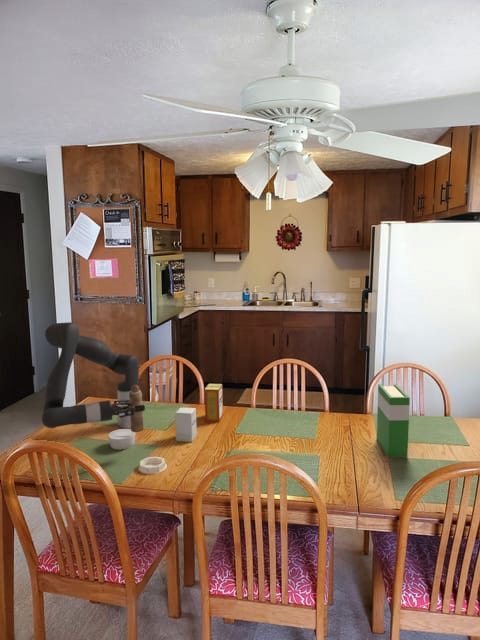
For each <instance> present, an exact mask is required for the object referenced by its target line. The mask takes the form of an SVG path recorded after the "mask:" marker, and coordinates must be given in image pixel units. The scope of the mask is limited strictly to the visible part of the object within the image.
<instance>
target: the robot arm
mask: <svg viewBox="0 0 480 640" xmlns="http://www.w3.org/2000/svg"><path fill="white" fill-rule="evenodd" d="M44 335H45V339H46V341H47V342H48V344H49V345H51V346H52V347H54V348H57V349H58V348H59V349H61V352H60V355H59V357H58V359H57V361H56V363H55V365H54V366H53V368H52V369H51V371H50V372H49V374H48V377H47V381H46V385H45V387H46V388H45V394H44V395H45V396H44V397H45V398H44V400H45V401H44V406H43V410H42V415H41V423H42V424H43V425H44V426H45V427H46V428H47V429H55V428H56V427H57V428H59V427H63V426H69V425H81V424H82V425H83V424H86V423H87V424H90V423H100V422H107V421H112V419H113V416H117V417H116V419H117V426H119V427H120V428H121V429H131V419H130V416H131V415H134V413H135V412H139V411H143V412H144V411H145V410H146V407H145V405H144V404H142V405H139V406H130V399H129V393H130V391H131V388H132V386H133V385H138V386H139V381H140V379H139V378H140V374H139V373H140V367H139V366H140V363H139V359H138V357H137V356H136V355H133V354H124V353H117V352H114V351H112V350H111V348H110V347H109V345H108V344H106V343H105V342H103V341H101V340H99V339H97V338H94V337H90V336H86V335H85V336H84V335H80V329H79V326H78V325H77V324H76V323H74V322H72V321H71V322H56V323H52V324H50V325H49V326H48V327H46V329H45V332H44ZM75 355H77V356H78V357H81V358H83V359H85V360H88V361H89V362H91V363H95V364H97V365H100V366H103V367H105V368H107V369H108V370H110V371H112V372H113V373H115V374H118V375H123V376H124V380H121V381H119V382H118V383H117V385H116V391H117V400H113V403H112V402H111V400H100V401H93V402H89V403H85V404H77V405H71V406H64V401H65V398H66V393H67V392H66V391H67V385H68V379H69V375H70V370H71V367H72V363H73V360H74V357H75Z"/></svg>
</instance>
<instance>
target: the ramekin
mask: <svg viewBox="0 0 480 640" xmlns="http://www.w3.org/2000/svg"><path fill="white" fill-rule="evenodd" d="M136 434H137V432H132V431H131V428H119V429H116V430H113V431H111V432H109V433H108V435H107V439H108V440H109V445H110V447H111V448H112V449H113V450H116V449H118V450H119V451H121V450H122V449H124V450H127V449H130V448H132V447H133V446H134V444H135V440H136ZM118 450H117V451H118Z"/></svg>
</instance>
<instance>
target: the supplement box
mask: <svg viewBox="0 0 480 640" xmlns="http://www.w3.org/2000/svg"><path fill="white" fill-rule="evenodd" d="M174 418H175V422H174V424H175V441H176V442H189V443H191V442H192V443H193V441H194V439H195V438H196V437H197V434H198V433H197V409H196V407H179V408H178V409H177V410H176V411H175V413H174Z"/></svg>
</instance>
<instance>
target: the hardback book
mask: <svg viewBox="0 0 480 640" xmlns="http://www.w3.org/2000/svg"><path fill="white" fill-rule="evenodd" d="M410 400H411V397H410V396H409V395H408V394H407V393H406V392H405V391H403V389H402V388H401V387H400V386H399V385H398V384H396V383H394V384H393V385H387V386H386V385H385V386H383V385H382V384H377V414H376V415H377V417H376V418H377V420H376V440H377V442H378V445H380V447H381V449H382V450H383V451H384V454H385V455H386V456H387V458H408V455H409V454H408V453H409V451H408V450H409V449H408V448H409V428H410V427H409V426H410V403H411V401H410Z"/></svg>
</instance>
